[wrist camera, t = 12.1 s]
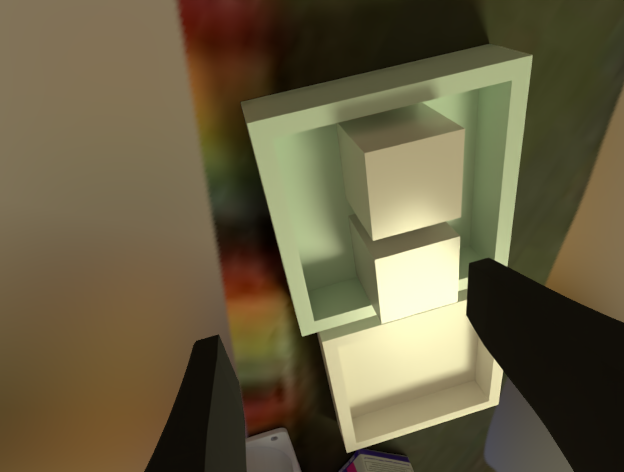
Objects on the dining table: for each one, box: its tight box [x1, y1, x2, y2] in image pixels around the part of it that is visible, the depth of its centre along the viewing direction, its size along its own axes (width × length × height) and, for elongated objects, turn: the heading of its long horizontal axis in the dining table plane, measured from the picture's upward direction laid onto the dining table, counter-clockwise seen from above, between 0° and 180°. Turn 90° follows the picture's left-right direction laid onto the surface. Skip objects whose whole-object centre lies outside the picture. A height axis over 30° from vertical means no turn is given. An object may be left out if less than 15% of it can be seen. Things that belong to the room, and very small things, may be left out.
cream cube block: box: [348, 214, 460, 324], centre depth 22 cm, size 4×4×4 cm
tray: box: [317, 289, 503, 453], centre depth 28 cm, size 12×12×2 cm
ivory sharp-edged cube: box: [336, 102, 465, 241], centre depth 19 cm, size 4×4×4 cm
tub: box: [240, 44, 533, 337], centre depth 21 cm, size 12×12×3 cm
